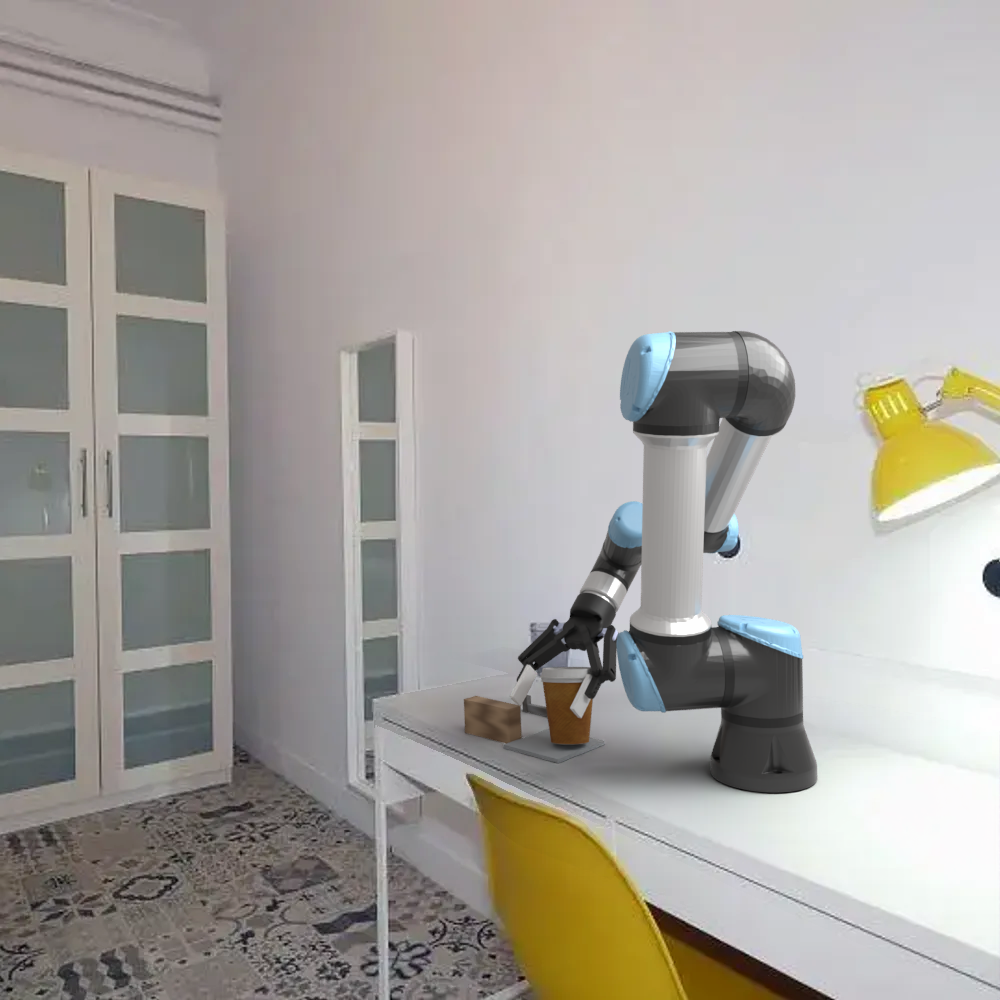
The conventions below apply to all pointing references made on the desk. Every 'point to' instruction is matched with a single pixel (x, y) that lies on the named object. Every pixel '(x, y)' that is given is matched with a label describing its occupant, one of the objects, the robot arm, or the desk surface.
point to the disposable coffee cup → (565, 704)
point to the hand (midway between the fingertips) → (544, 707)
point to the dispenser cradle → (497, 718)
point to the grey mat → (550, 747)
